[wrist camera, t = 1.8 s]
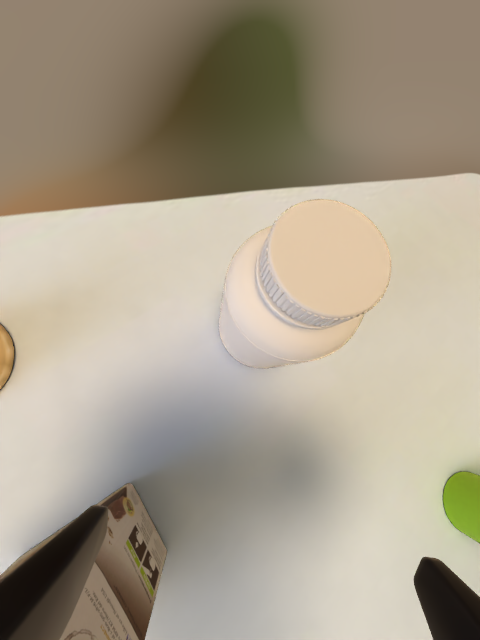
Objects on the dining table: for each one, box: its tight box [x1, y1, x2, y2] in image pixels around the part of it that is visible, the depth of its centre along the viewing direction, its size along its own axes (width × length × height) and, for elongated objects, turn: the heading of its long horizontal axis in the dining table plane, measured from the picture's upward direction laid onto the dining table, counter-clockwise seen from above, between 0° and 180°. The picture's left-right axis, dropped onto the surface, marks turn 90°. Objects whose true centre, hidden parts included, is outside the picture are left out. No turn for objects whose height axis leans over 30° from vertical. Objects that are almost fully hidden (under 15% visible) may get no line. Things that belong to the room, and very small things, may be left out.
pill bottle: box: [219, 199, 391, 369], centre depth 17 cm, size 8×8×15 cm
